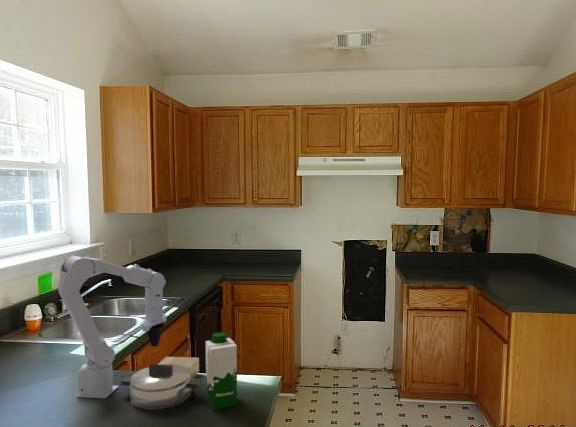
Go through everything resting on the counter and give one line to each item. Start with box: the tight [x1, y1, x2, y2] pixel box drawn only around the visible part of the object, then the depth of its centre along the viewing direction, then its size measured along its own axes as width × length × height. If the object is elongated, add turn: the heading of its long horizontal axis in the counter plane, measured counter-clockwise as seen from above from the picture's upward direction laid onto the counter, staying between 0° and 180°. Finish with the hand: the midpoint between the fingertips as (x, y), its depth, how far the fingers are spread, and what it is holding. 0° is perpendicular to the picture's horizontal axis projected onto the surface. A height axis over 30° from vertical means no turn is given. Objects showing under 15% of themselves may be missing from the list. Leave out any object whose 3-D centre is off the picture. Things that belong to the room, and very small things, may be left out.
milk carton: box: [205, 332, 238, 411], centre depth 127 cm, size 9×9×20 cm
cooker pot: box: [120, 356, 202, 410], centre depth 137 cm, size 24×28×5 cm
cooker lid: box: [131, 363, 190, 391], centre depth 132 cm, size 18×18×4 cm
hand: (154, 345), depth 146 cm, fingers closed
